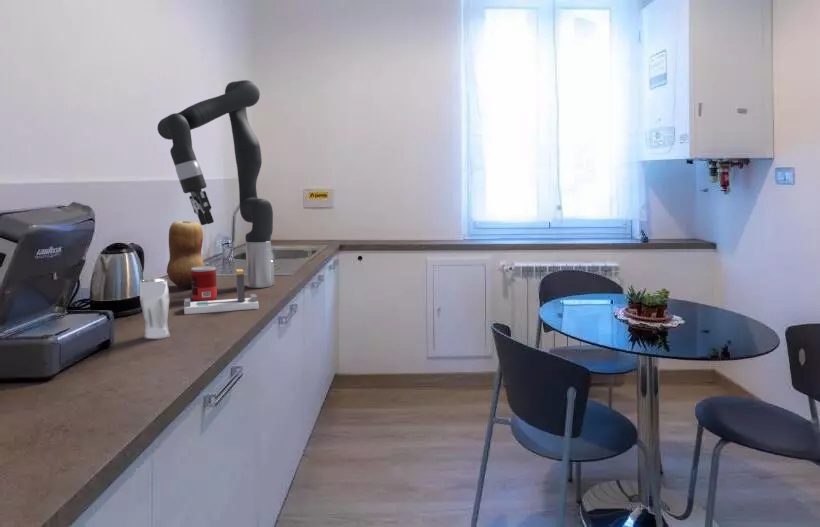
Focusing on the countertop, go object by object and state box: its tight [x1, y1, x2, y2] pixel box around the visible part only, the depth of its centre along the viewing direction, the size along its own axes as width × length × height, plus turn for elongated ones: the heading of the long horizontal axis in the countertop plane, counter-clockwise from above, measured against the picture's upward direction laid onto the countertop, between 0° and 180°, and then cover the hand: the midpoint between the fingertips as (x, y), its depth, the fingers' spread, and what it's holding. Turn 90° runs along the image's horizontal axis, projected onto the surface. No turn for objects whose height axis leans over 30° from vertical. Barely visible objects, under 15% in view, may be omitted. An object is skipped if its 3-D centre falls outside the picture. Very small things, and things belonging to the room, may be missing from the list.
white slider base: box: [183, 293, 260, 315], centre depth 183 cm, size 22×8×4 cm, turn 111°
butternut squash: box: [166, 220, 205, 289], centre depth 216 cm, size 14×13×25 cm
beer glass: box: [139, 277, 171, 340], centre depth 150 cm, size 7×7×15 cm
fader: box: [235, 268, 246, 302], centre depth 184 cm, size 2×4×10 cm, turn 21°
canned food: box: [191, 265, 218, 302], centre depth 195 cm, size 8×8×11 cm
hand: (207, 224), depth 191 cm, fingers open, 8 cm apart
